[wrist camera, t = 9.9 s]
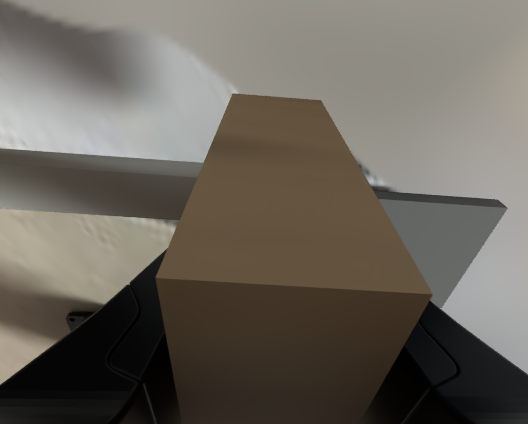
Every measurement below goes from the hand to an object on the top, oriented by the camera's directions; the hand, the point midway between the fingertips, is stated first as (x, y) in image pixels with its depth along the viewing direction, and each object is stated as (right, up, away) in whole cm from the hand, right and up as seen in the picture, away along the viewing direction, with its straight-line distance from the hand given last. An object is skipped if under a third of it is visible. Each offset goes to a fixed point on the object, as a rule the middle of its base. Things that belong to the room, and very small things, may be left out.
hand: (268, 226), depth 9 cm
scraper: (-6, +2, +1) cm, 6 cm away
